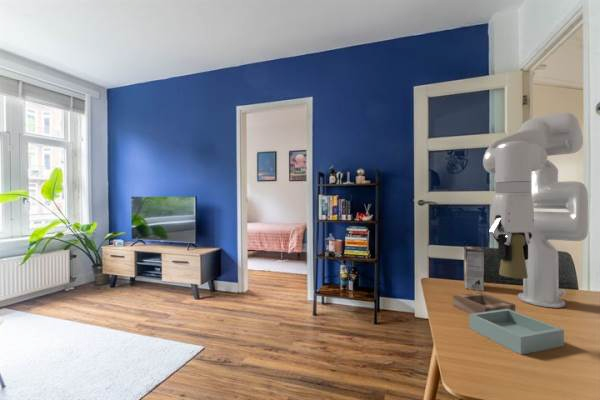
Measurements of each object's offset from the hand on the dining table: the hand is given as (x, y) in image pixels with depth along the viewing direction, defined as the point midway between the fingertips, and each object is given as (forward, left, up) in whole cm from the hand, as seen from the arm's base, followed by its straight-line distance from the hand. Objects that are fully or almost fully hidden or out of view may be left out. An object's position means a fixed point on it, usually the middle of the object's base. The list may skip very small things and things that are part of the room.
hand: (513, 258), depth 74 cm
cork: (0, 0, -5) cm, 5 cm away
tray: (0, 0, -20) cm, 20 cm away
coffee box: (-27, -37, -21) cm, 50 cm away
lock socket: (-8, -16, -20) cm, 27 cm away
